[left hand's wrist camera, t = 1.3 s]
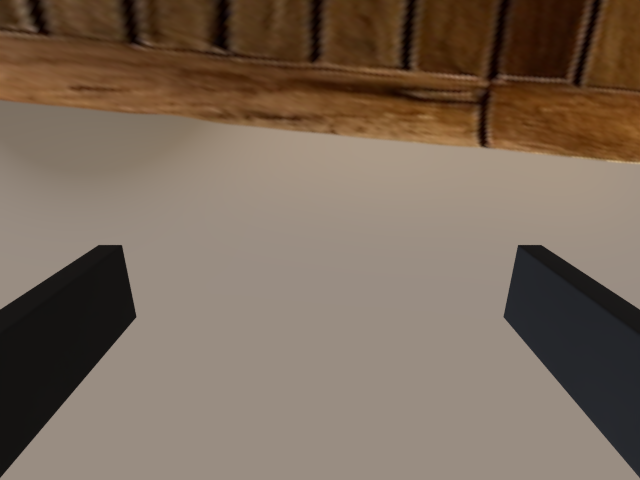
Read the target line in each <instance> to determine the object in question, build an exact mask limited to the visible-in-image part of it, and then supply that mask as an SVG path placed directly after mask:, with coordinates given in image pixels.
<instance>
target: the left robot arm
mask: <svg viewBox="0 0 640 480" xmlns="http://www.w3.org/2000/svg"><path fill="white" fill-rule="evenodd" d="M135 318H136V313H135V308H134V303H133V298H132V293H131V288H130V283H129V278H128V273H127V268H126V263H125V258H124V253H123V248H122V245H98V246H97V247H95V248H94V249H92V250H91V251H89V252H88V253H86V254H85V255H83V256H81V257H80V258H78V259H77V260H75V261H74V262H72V263H71V264H69V265H68V266H66V267H65V268H63V269H62V270H60V271H59V272H57V273H55V274H54V275H52V276H51V277H49V278H48V279H46V280H45V281H43V282H42V283H40V284H39V285H37V286H36V287H34V288H33V289H31V290H30V291H28V292H26V293H25V294H24V295H22V296H20V297H19V298H17V299H16V300H14V301H13V302H11V303H10V304H8V305H7V306H5V307H4V308H2V309H1V310H0V477H1V476H2V475H3V474H4V473H5V471H6V470H7V469H8V468H9V467H10V466H11V464H12V463H13V462H14V461H15V460H16V459H17V457H18V456H19V455H20V454H21V453H22V451H23V450H24V449H25V448H26V447H27V446H28V444H29V443H30V442H31V441H32V440H33V438H34V437H35V436H36V435H37V434H38V433H39V431H40V430H41V429H42V428H43V427H44V425H45V424H46V423H47V422H48V421H49V420H50V418H51V417H52V416H53V415H54V414H55V412H56V411H57V410H58V409H59V408H60V407H61V405H62V404H63V403H64V402H65V401H66V399H67V398H68V397H69V396H70V395H71V393H72V392H73V391H74V390H75V389H76V388H77V386H78V385H79V384H80V383H81V382H82V381H83V379H84V378H85V377H86V376H87V375H88V373H89V372H90V371H91V370H92V369H93V368H94V366H95V365H96V364H97V363H98V362H99V360H100V359H101V358H102V357H103V356H104V355H105V353H106V352H107V351H108V350H109V349H110V348H111V346H112V345H113V344H114V343H115V342H116V340H117V339H118V338H119V337H120V336H121V335H122V333H123V332H124V331H125V330H126V329H127V327H128V326H129V325H130V324H131V323H132V322H133V320H134V319H135ZM504 318H505V319H506V320H507V322H508V323H509V324H510V325H511V326H512V327H513V329H514V330H515V331H516V332H517V333H518V335H519V336H520V337H521V338H522V339H523V340H524V342H525V343H526V344H527V345H528V346H529V347H530V349H531V350H532V351H533V352H534V353H535V355H536V356H537V357H538V358H539V359H540V360H541V362H542V363H543V364H544V365H545V366H546V367H547V369H548V370H549V371H550V372H551V373H552V375H553V376H554V377H555V378H556V379H557V381H558V382H559V383H560V384H561V385H562V386H563V388H564V389H565V390H566V391H567V392H568V394H569V395H570V396H571V397H572V398H573V399H574V401H575V402H576V403H577V404H578V405H579V407H580V408H581V409H582V410H583V411H584V412H585V414H586V415H587V416H588V417H589V418H590V419H591V421H592V422H593V423H594V424H595V425H596V427H597V428H598V429H599V430H600V431H601V433H602V434H603V435H604V436H605V437H606V438H607V440H608V441H609V442H610V443H611V444H612V446H613V447H614V448H615V449H616V450H617V451H618V453H619V454H620V455H621V456H622V457H623V458H624V460H625V461H626V462H627V463H628V464H629V466H630V467H631V468H632V469H633V470H634V471H635V473H636V474H637V475H638V476H639V477H640V310H639V309H638V308H636V307H635V306H633V305H632V304H630V303H629V302H627V301H626V300H624V299H623V298H621V297H620V296H618V295H617V294H615V293H613V292H612V291H610V290H609V289H607V288H606V287H604V286H603V285H601V284H600V283H598V282H597V281H595V280H594V279H592V278H591V277H589V276H588V275H586V274H585V273H583V272H581V271H580V270H578V269H577V268H575V267H574V266H572V265H571V264H569V263H568V262H566V261H565V260H563V259H562V258H560V257H559V256H557V255H556V254H554V253H552V252H551V251H549V250H548V249H546V248H545V247H543V246H542V245H518V248H517V253H516V258H515V263H514V268H513V273H512V278H511V283H510V288H509V293H508V298H507V303H506V308H505V313H504Z"/></svg>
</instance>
